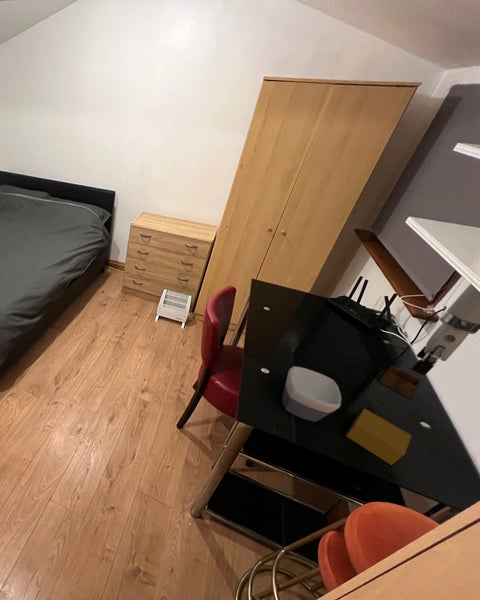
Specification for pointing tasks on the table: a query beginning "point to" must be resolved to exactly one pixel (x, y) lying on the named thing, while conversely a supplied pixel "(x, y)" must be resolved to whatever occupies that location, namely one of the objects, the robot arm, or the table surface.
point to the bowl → (310, 394)
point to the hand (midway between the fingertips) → (420, 365)
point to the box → (379, 437)
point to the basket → (400, 381)
